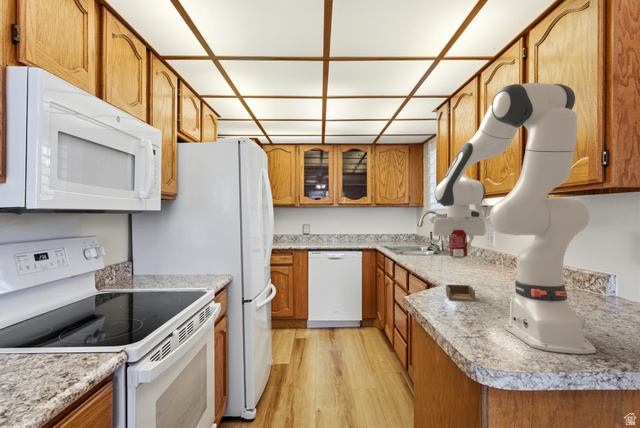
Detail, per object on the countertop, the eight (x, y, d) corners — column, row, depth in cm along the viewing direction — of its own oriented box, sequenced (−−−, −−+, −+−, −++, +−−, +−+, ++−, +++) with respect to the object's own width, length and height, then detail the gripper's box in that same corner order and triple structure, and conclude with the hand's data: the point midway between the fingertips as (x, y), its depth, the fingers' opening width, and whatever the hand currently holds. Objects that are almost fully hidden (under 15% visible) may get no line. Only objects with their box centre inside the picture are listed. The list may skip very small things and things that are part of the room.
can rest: (475, 301, 124) (474, 290, 124) (449, 300, 126) (448, 289, 126) (469, 295, 133) (469, 285, 133) (445, 294, 136) (445, 284, 136)
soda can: (465, 259, 125) (464, 229, 125) (447, 258, 129) (447, 229, 130) (468, 257, 131) (468, 228, 131) (451, 256, 135) (451, 228, 135)
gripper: (432, 213, 130) (433, 247, 130) (486, 212, 125) (487, 247, 125) (430, 213, 136) (431, 245, 136) (482, 213, 131) (483, 246, 131)
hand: (458, 246), depth 130 cm, fingers closed on soda can, 6 cm apart
